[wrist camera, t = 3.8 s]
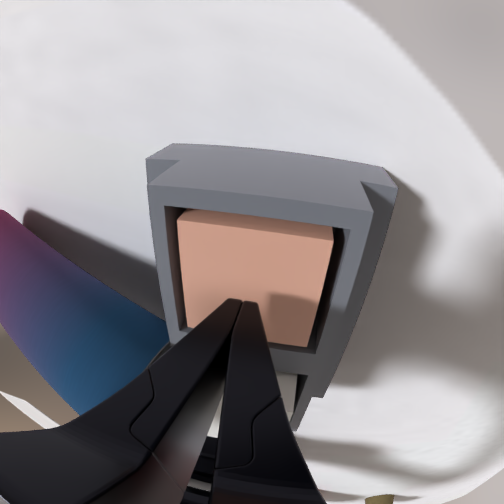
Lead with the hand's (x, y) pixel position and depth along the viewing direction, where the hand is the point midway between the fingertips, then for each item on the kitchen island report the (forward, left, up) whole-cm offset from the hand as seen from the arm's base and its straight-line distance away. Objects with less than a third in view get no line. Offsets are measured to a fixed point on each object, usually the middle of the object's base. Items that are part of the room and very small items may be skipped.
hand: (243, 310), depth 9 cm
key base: (-3, 0, -6) cm, 7 cm away
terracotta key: (0, 0, -3) cm, 3 cm away
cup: (-2, +19, -3) cm, 19 cm away
